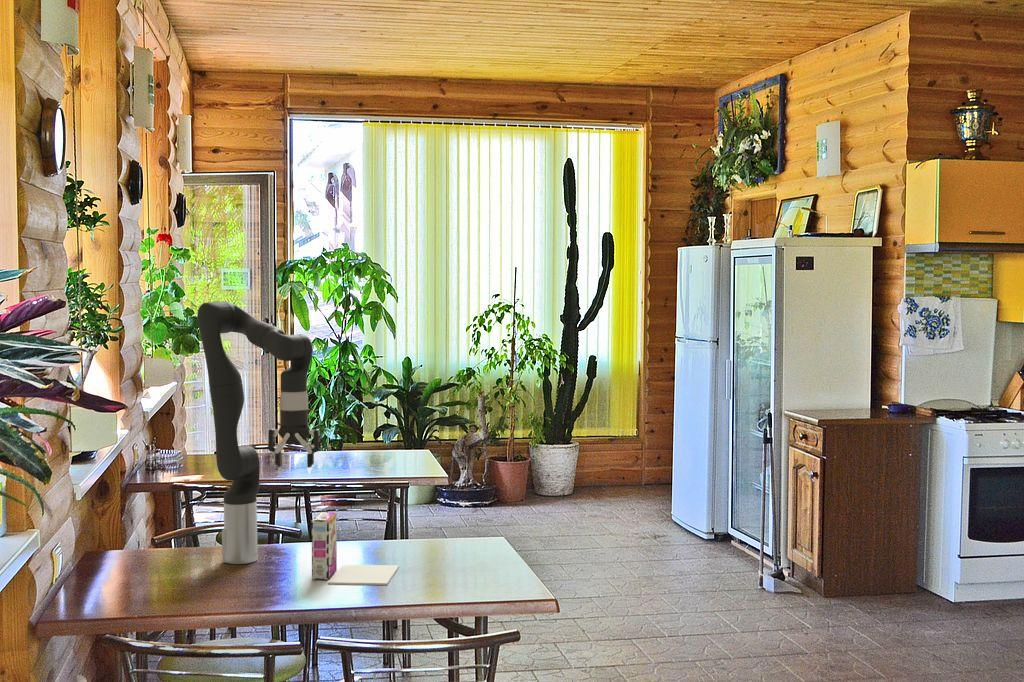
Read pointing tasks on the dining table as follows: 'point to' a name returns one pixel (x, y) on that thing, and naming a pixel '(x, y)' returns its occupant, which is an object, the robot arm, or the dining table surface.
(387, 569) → the mat
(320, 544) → the candy bar box
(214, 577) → the dining table surface
